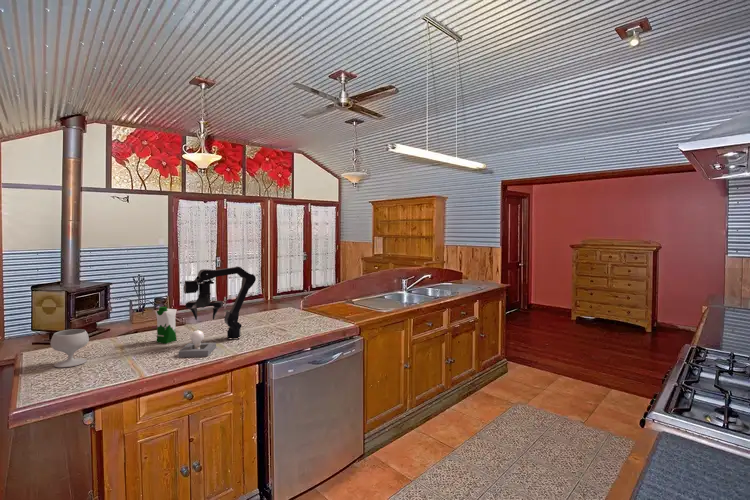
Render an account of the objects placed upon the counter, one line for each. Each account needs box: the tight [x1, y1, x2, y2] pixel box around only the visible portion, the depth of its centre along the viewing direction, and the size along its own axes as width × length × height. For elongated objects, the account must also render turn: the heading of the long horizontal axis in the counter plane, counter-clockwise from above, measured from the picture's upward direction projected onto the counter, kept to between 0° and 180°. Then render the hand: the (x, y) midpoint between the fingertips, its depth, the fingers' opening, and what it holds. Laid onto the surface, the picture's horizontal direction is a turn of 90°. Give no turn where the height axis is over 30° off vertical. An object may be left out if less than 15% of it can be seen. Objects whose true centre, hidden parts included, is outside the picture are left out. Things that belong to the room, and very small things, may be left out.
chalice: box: [50, 328, 90, 368], centre depth 179 cm, size 14×14×15 cm
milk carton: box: [154, 306, 178, 345], centre depth 216 cm, size 9×9×20 cm
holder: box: [177, 342, 217, 358], centre depth 197 cm, size 14×14×3 cm
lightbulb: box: [190, 329, 205, 349], centre depth 197 cm, size 6×6×11 cm
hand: (204, 319), depth 214 cm, fingers open, 9 cm apart
